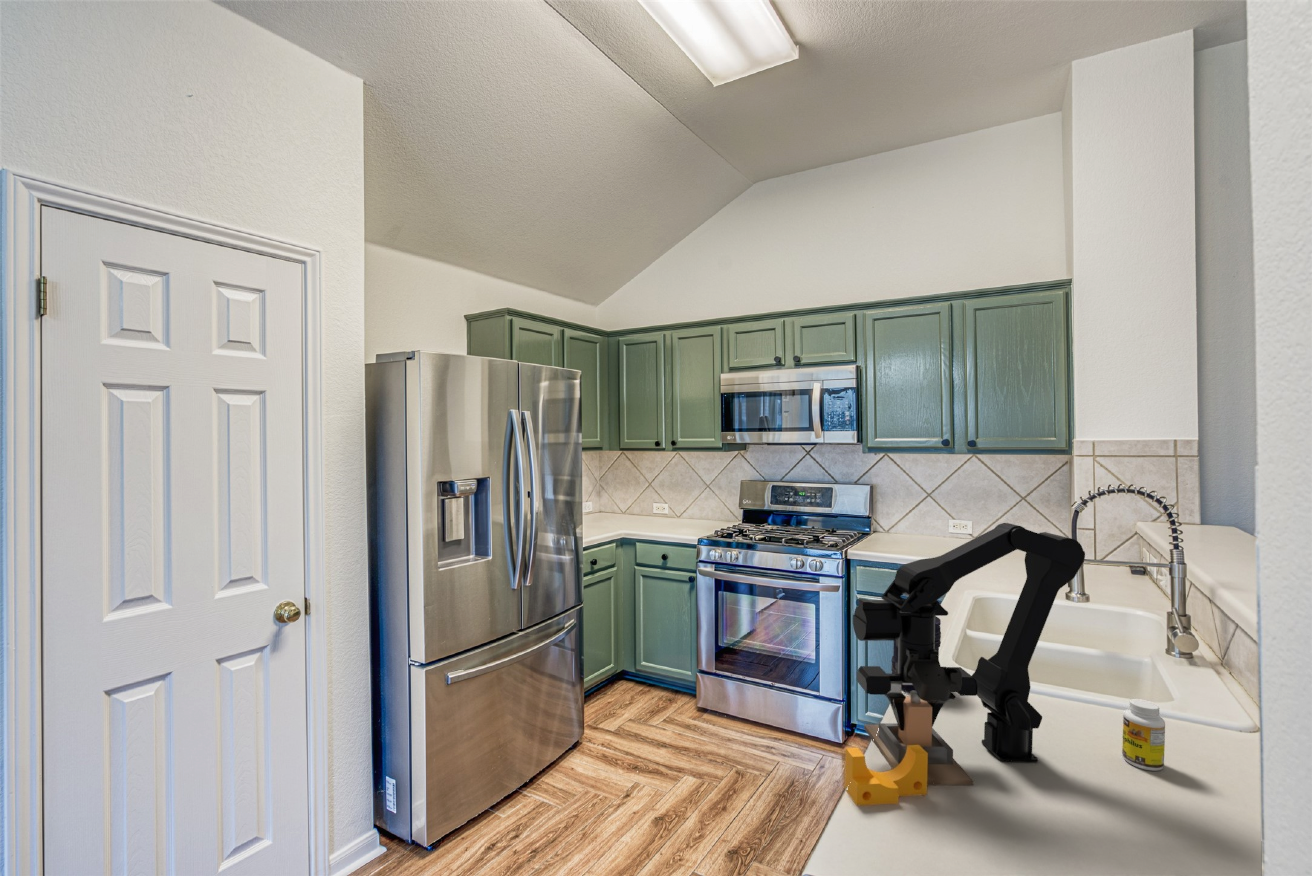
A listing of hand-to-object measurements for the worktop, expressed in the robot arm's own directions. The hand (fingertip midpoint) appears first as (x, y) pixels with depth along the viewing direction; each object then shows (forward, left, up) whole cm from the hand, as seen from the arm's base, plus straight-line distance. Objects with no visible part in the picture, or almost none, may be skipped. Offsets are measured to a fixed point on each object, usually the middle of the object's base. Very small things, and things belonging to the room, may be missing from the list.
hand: (914, 729), depth 106 cm
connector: (0, 0, -2) cm, 2 cm away
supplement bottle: (-38, +2, -4) cm, 38 cm away
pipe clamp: (+9, +12, -5) cm, 16 cm away
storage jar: (-13, -29, -4) cm, 32 cm away
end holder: (0, 0, -4) cm, 4 cm away
